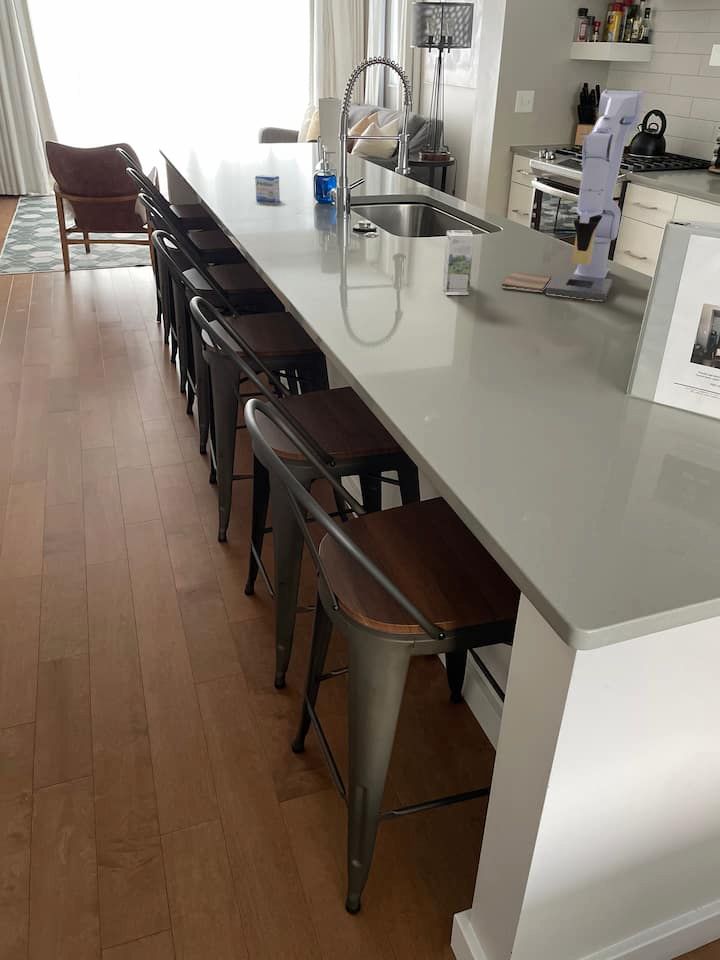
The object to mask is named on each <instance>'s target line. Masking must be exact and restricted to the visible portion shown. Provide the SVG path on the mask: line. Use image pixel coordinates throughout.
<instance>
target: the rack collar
mask: <svg viewBox="0 0 720 960" xmlns="http://www.w3.org/2000/svg"><path fill="white" fill-rule="evenodd" d="M569 285H570V286H569ZM612 285H613V279H612V278H595V277H586V276H577V275H574V274H568V273H567V274H566V273H558V272H557V273H555V274H554V276H553V277H551V281H550V283H549V284H548V285H547V287H546V289H545V290H544V291H545V292H544V294H545V293H548V294H555V295H562V296H569V297H576V298H583V299H594V300H602V301H606V300H605V298H606V299H607V297H608V295H609V293H610V291H611V289H612ZM610 288H611V289H610ZM609 290H610V291H609ZM608 292H609V293H608ZM607 294H608V295H607ZM606 296H607V297H606Z"/></svg>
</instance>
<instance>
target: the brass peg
mask: <svg viewBox="0 0 720 960" xmlns="http://www.w3.org/2000/svg"><path fill="white" fill-rule="evenodd" d="M595 233H596V228H595V230H594V232H593V234H592V237H591V240H590V244H589V247H588V249H587V251H578V249H577V234H575V241H574V248H573V255H572V261H571V264H576V265H578V264H585V265H589V264H590V262H591V259H592V253H593V246H594V240H595Z"/></svg>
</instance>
